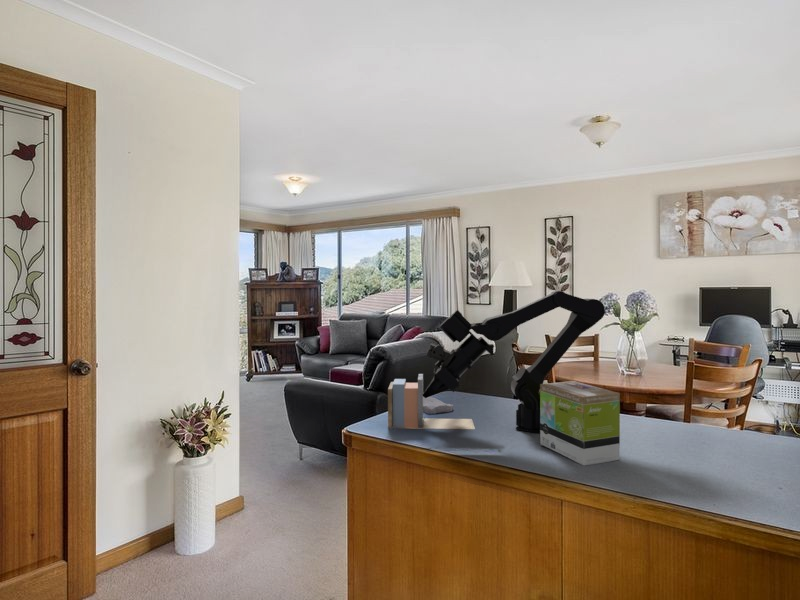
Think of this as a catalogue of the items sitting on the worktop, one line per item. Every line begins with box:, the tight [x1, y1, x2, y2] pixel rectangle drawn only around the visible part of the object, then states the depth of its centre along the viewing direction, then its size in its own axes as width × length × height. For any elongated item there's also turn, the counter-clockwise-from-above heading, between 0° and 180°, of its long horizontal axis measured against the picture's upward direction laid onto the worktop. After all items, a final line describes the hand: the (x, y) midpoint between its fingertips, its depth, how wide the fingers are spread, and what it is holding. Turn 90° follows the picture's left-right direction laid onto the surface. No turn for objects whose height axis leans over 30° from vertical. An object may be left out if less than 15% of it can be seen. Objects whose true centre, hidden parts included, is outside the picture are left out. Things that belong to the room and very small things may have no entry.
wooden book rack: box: [387, 381, 476, 430], centre depth 132 cm, size 22×10×11 cm, turn 86°
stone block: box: [423, 396, 454, 415], centre depth 150 cm, size 12×5×10 cm
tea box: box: [539, 380, 621, 467], centre depth 112 cm, size 15×10×15 cm, turn 21°
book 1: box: [392, 378, 407, 427], centre depth 133 cm, size 3×8×11 cm, turn 177°
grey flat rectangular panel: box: [417, 373, 424, 427], centre depth 132 cm, size 1×9×12 cm, turn 177°
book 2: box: [404, 382, 418, 427], centre depth 133 cm, size 4×8×10 cm, turn 177°
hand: (423, 396), depth 132 cm, fingers closed, pressing on grey flat rectangular panel
